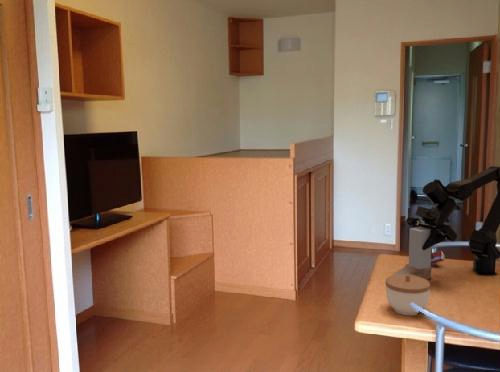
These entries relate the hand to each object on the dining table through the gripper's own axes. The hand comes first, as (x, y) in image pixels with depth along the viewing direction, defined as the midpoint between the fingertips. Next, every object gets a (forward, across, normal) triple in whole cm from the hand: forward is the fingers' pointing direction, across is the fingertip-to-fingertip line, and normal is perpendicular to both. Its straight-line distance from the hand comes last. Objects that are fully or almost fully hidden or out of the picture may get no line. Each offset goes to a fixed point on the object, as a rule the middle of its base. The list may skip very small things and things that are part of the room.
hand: (417, 247), depth 160 cm
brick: (+9, -4, +11) cm, 14 cm away
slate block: (+4, 0, +6) cm, 7 cm away
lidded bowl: (+23, +15, -4) cm, 28 cm away
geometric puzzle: (-6, -13, +25) cm, 29 cm away
